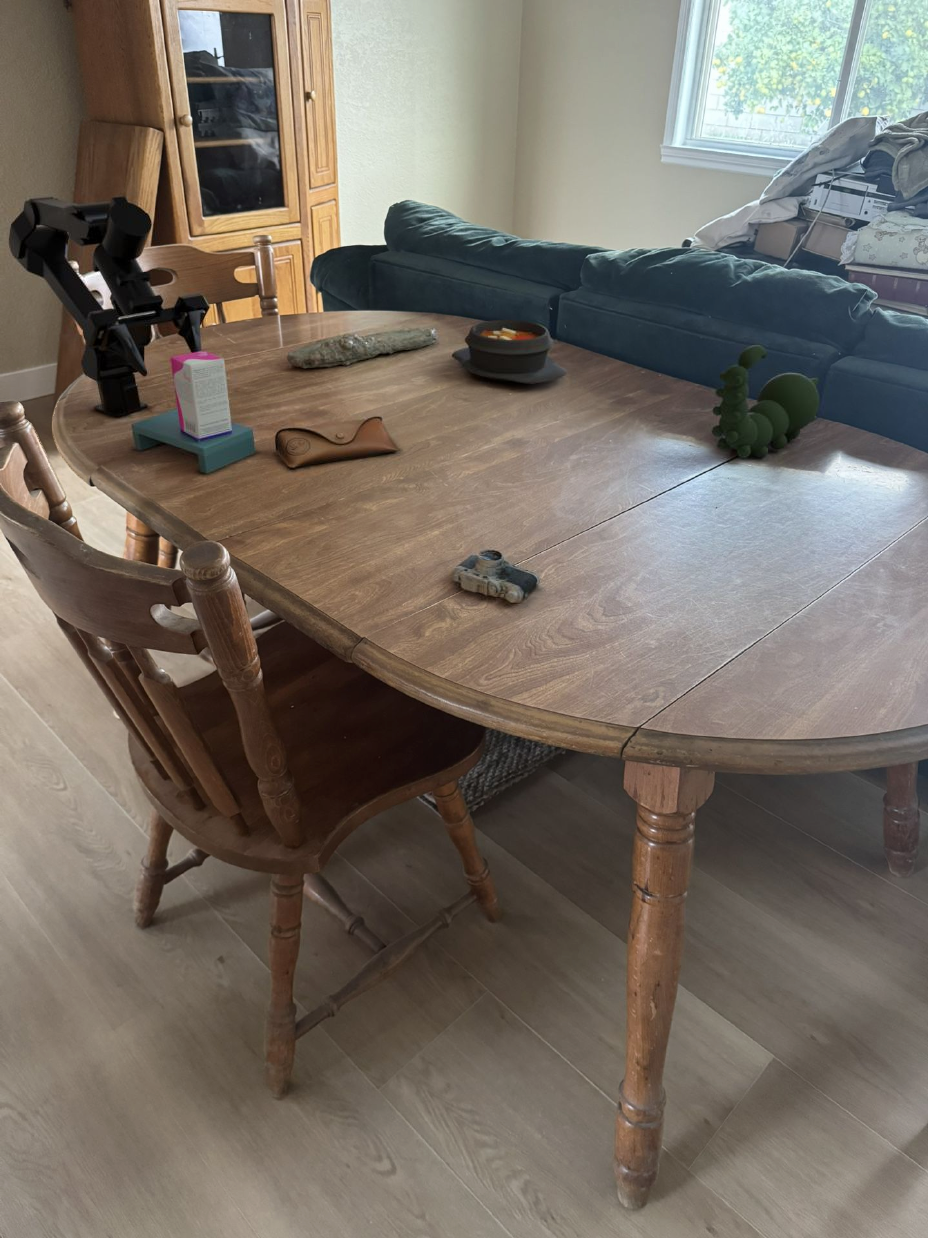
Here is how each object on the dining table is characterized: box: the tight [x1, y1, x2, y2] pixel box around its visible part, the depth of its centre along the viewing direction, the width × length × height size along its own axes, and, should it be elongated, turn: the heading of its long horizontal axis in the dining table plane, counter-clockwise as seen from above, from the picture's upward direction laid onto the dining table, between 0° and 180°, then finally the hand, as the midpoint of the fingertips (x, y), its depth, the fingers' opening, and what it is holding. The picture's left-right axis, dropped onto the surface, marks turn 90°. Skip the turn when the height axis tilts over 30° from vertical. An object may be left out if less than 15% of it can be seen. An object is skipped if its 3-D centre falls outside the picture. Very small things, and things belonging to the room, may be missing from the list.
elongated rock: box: [286, 326, 438, 369], centre depth 184 cm, size 35×5×10 cm
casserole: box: [451, 319, 568, 385], centre depth 175 cm, size 25×19×8 cm
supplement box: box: [170, 350, 232, 442], centre depth 134 cm, size 6×6×12 cm
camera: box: [451, 549, 541, 604], centre depth 107 cm, size 5×10×4 cm, turn 57°
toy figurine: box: [711, 344, 820, 459], centre depth 143 cm, size 9×19×25 cm
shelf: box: [130, 407, 256, 475], centre depth 140 cm, size 16×10×4 cm, turn 56°
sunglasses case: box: [274, 415, 399, 469], centre depth 141 cm, size 18×7×7 cm, turn 116°
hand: (173, 368), depth 137 cm, fingers open, 9 cm apart
